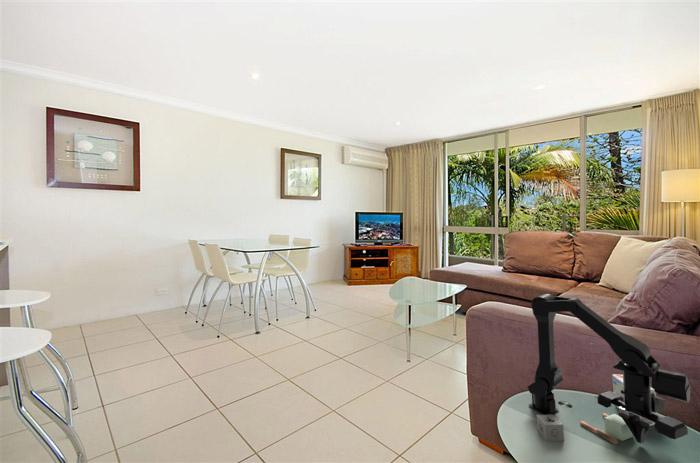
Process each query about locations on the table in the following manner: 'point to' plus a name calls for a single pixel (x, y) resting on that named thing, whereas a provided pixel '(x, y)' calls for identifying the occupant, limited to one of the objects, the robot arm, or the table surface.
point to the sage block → (617, 427)
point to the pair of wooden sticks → (600, 431)
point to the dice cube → (550, 428)
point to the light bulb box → (622, 386)
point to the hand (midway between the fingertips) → (640, 442)
